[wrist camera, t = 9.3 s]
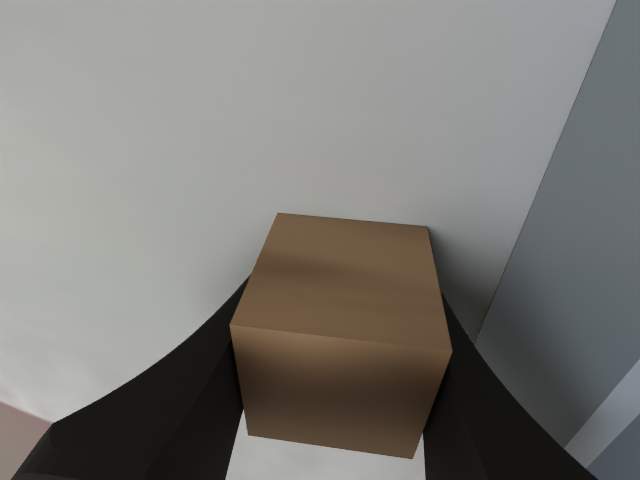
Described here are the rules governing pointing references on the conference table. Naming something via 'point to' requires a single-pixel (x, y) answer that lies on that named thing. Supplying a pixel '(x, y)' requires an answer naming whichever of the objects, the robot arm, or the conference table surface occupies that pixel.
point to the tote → (582, 273)
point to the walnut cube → (341, 335)
